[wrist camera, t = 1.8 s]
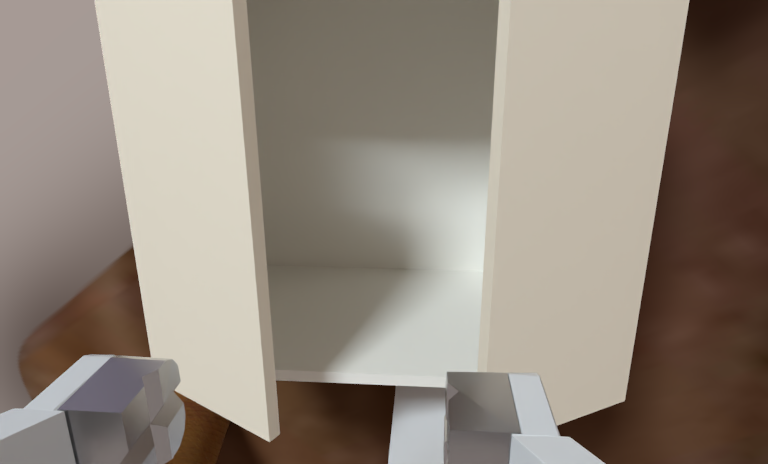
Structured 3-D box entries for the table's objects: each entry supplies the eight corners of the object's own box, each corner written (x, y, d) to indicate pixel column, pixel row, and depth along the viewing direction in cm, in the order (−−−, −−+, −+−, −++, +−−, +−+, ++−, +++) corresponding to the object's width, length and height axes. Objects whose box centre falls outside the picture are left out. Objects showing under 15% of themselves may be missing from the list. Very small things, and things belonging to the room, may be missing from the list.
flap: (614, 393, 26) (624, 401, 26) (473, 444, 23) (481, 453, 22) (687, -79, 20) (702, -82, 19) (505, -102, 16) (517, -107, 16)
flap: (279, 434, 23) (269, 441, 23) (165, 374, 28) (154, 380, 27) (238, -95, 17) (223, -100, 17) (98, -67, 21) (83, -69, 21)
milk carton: (451, 413, 44) (466, 669, 26) (398, 348, 42) (375, 572, 24) (529, 370, 42) (602, 613, 24) (476, 300, 40) (512, 504, 22)
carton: (552, 277, 39) (614, 395, 26) (251, 269, 41) (166, 375, 28) (584, -31, 33) (687, -81, 20) (225, -26, 35) (99, -69, 21)
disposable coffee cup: (234, 356, 44) (165, 465, 32) (261, 454, 47) (206, 586, 35) (123, 367, 45) (19, 476, 34) (156, 462, 48) (70, 592, 36)
